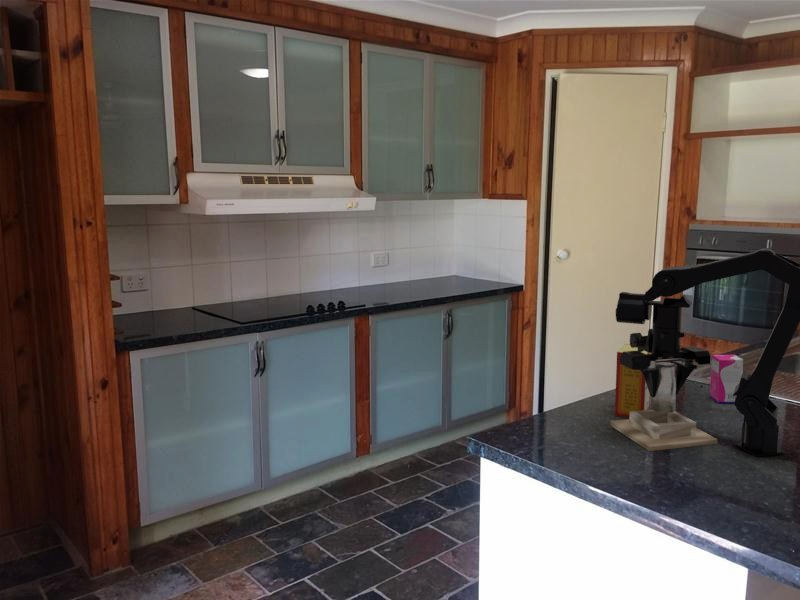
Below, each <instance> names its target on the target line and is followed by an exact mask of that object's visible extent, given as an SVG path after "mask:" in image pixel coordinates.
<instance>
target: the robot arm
mask: <svg viewBox="0 0 800 600" xmlns="http://www.w3.org/2000/svg"><path fill="white" fill-rule="evenodd" d="M756 271H764V272H765V273H768V274H770V275H771V276H772V277H774V278H777V279H778V280H780V281H781V282H783V283H785V284H787V285H788V287H787V290H786V296H785V301H784V303H783V304H784V305H783V308H782V309H781V311H780V314H779V316H778V318H777V320H776V322H775V325H774V327H773V329H772V332H771V333H770V336H769V338H768V339H767V342H766V343H765V346H764V348H763V349H762V353H761V355H760V357H759V359H758V361H757V363H756V366H755V367H754V368H753V369H752V371H751V372H750V373H748V372H747V371H745V370H743V373H742V376H741V379H740V383H739V384H738V385H737V386H736V388H735V391H734V393H733V396H736V398H735V404H734V406H735V409H736V410H737V411H738V412H739V413H740V414H741V415H743V422H742V427H741V428H742V430H741V442H735V446H736V447H738V448H739V449H741V450H744V451H745V452H747V453H749V454H750V455H753V456H755V457H764V456H765V457H767V456H776V455H783V454H784V450H782V449H780V448H778V445H779V444H778V443H779V431H780V425H779V424H778V417H779V410H780V409H779V407H778V406H777V405H776V404H775V403H774V402H773V401H772V400H771V399H770V394H771V390H772V385H773V381H774V378H775V375H776V372H777V371H778V370H779V366H780V365H781V363H782V360H783V358H784V356H785V355H786V352H787V350H788V349H789V346H790V344H791V342H792V340H793V337H794V335H795V333H796V331H797V330H798V327H799V325H800V263H798V262H797V261H795V260H793V259H791V258H788V257H786V256H784V255H781V254H779V253H777V252H775V251H774V250H773V249H771V248H767V247H765V248H764V247H763V248H760V249H758V250H756V251H751V252H747V253H744V254H739V255H735V256H732V257H727V258H723V259H719V260H715V261H714V260H713V261H711V262H707V263H702V264H695V265H679V266H669V267H666V268H663V269H661V270H660V271H658V272H657V273H655V274H654V277H652V283H651V286H650V287H649V288H648V290H646V291H645V292H644V293H634V292H633V293H632V292H627V291H621V292H620V293H618V300H617V304H616V308H615V320H616V322H617V323H623V324H624V323H625V324H633V325H635V324H637V325H645V323H646V321H650V320H651V317H652V326H651V327H652V328H649V329H648V331H647V335H642V333H641V332H632V333H630V335H629V344H630V346H631V347H632V348H636V347H637V348H638V351H625V352H623V353H622V354H621V356H620V364H622V365H624V366H626V367H628V368H630V369H632V370H640V371H641V372H642V374H643V376H644V378H645V381H646V384H647V387H648V390H649V393H650V398H651V397H655V394H656V390H657V383H658V377H659V369H657V368H655V363H658V362H669V363H673V364H676V365H677V381H676V396H677V395H678V394H679V392H680V390H681V389H682V387H683V385H684V384H685V382H686V380H687V379H688V378H689V376H690V375H692V374H691V373H693V371H694V370H697V369H698V365H701V366H702V365H711V360H712V354H711V353H710V351H709V350H707V349H705V348H701V347H699V346H696V345H695V346H693V345H692V346H681V338H685V332H683V331H682V312H683V308H689V309H690V307H691V306H692V305H693V302H692V301H690V300H689V299H688V297H687V295H686V294H682V296H681V297H673V296H675V295H677V294H681V293H683V292H685V291H688V290H689V289H691V288H694V287H697V286H699V285H702V284H705V283H709V282H713V281H717V280H722V279H726V278H731V277H735V276H739V275H744V274H748V273H751V272H756ZM660 297H663V300H662V301H661V300H656V299H659V298H660ZM652 306H653V307H652ZM642 351H646V352H650V353H651V354H644V353H642ZM694 361H695V363H696V364H697V365H696V364H694Z"/></svg>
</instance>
